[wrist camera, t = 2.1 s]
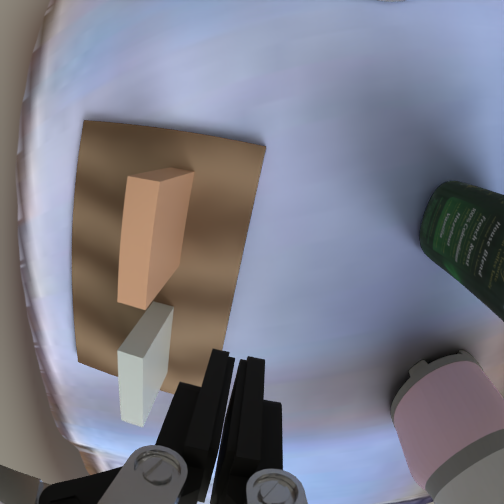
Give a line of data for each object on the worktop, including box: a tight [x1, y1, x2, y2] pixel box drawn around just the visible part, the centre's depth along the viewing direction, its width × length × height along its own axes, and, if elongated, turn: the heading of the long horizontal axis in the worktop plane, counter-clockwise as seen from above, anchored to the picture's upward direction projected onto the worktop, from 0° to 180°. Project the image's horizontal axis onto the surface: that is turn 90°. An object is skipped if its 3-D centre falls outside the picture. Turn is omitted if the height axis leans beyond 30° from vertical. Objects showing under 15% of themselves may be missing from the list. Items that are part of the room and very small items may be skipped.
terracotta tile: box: [117, 167, 194, 310], centre depth 22 cm, size 8×2×8 cm, turn 168°
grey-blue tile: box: [117, 301, 174, 427], centre depth 25 cm, size 8×2×8 cm, turn 168°
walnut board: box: [72, 120, 266, 394], centre depth 28 cm, size 26×16×1 cm, turn 168°
